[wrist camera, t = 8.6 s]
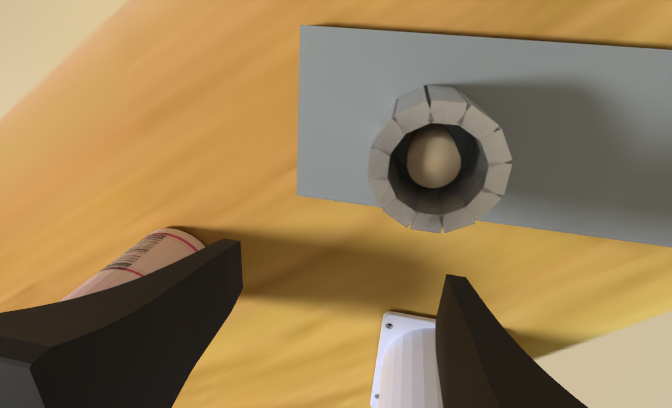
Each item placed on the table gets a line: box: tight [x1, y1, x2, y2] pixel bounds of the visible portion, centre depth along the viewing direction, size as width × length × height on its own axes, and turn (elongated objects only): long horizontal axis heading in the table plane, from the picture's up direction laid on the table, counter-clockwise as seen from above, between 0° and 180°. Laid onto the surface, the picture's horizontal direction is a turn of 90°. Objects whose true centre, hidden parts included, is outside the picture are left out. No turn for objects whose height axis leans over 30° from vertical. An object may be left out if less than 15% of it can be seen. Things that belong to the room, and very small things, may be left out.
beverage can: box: [59, 228, 205, 302], centre depth 20 cm, size 6×6×15 cm
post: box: [407, 123, 461, 188], centre depth 17 cm, size 2×2×4 cm
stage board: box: [297, 25, 672, 247], centre depth 19 cm, size 9×20×1 cm, turn 87°
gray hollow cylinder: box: [367, 85, 512, 233], centre depth 16 cm, size 5×5×5 cm
